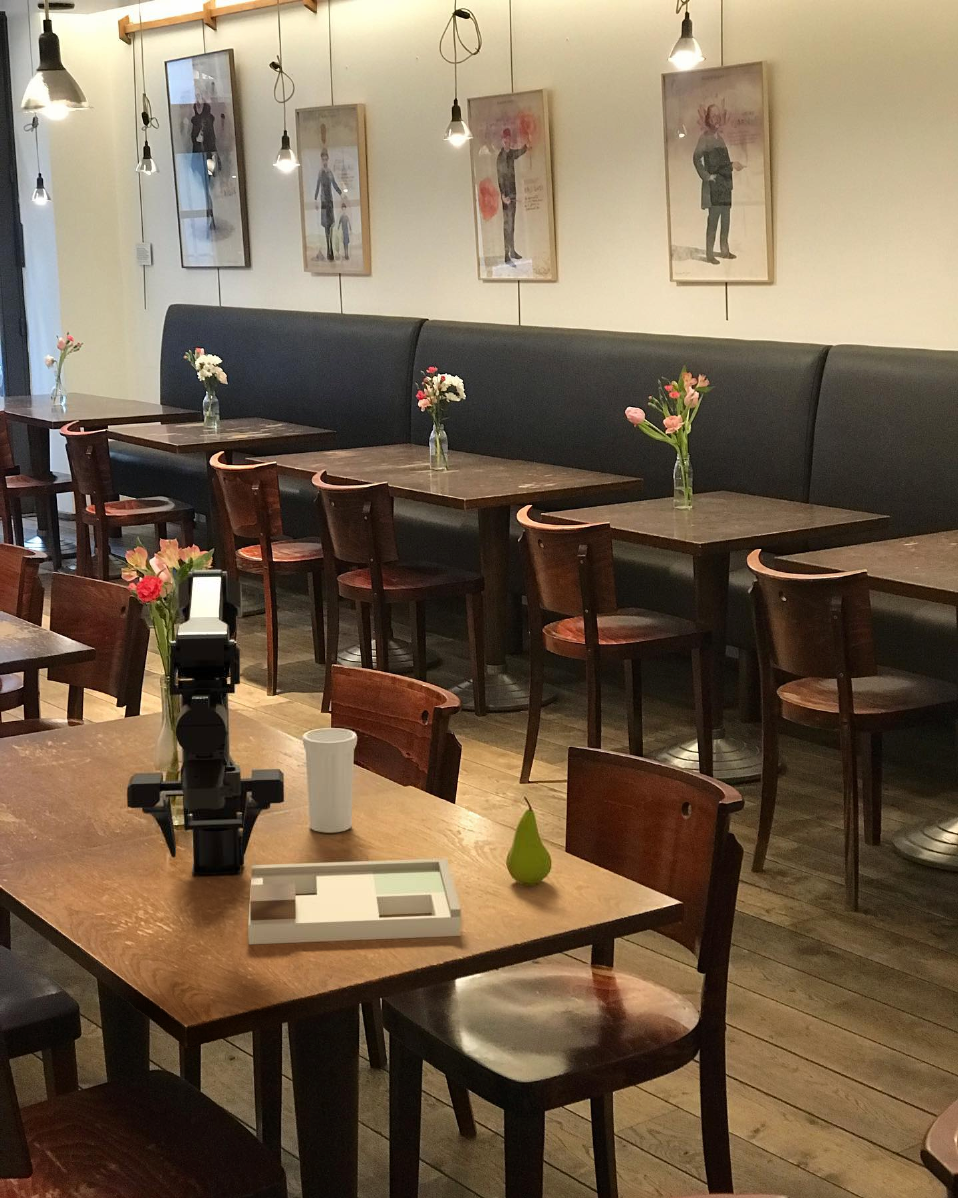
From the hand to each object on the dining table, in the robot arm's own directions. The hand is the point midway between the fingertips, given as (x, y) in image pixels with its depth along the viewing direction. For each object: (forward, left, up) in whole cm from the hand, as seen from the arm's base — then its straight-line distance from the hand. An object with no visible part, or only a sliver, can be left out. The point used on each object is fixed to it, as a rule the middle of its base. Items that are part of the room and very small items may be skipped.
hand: (208, 855), depth 197 cm
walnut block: (+8, 0, -8) cm, 11 cm away
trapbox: (+18, +5, -10) cm, 21 cm away
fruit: (+42, +13, -10) cm, 45 cm away
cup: (+16, +38, -10) cm, 42 cm away
